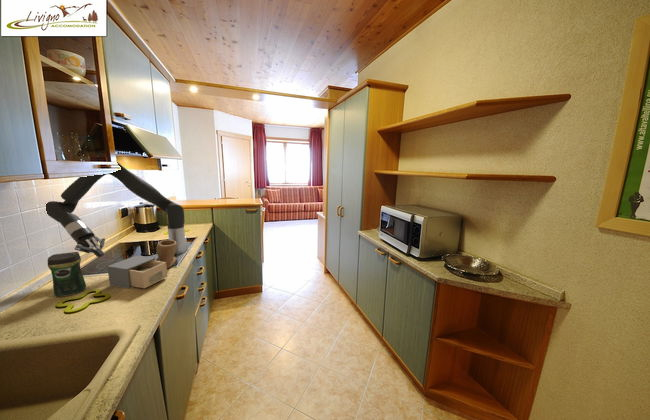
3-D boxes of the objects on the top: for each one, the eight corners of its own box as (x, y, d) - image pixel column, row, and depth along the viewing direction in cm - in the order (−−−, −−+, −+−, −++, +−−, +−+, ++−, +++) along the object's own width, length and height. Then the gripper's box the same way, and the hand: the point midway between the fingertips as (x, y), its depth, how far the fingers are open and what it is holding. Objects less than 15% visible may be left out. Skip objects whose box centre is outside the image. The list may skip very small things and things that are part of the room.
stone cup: (175, 269, 129) (172, 243, 127) (150, 271, 126) (147, 245, 123) (182, 259, 143) (180, 236, 141) (160, 260, 140) (157, 237, 137)
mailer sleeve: (139, 272, 124) (136, 255, 122) (157, 275, 121) (155, 257, 119) (110, 285, 110) (106, 266, 108) (129, 288, 108) (126, 269, 106)
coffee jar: (89, 285, 110) (82, 249, 106) (82, 293, 103) (74, 254, 100) (60, 290, 105) (52, 252, 102) (50, 299, 98) (42, 258, 95)
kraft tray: (137, 271, 123) (135, 257, 121) (167, 276, 118) (166, 262, 117) (112, 282, 111) (109, 267, 110) (144, 288, 107) (142, 272, 105)
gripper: (65, 230, 111) (88, 256, 111) (97, 224, 124) (118, 247, 124) (60, 240, 113) (83, 265, 113) (92, 232, 126) (112, 255, 126)
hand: (101, 256), depth 118 cm, fingers closed
